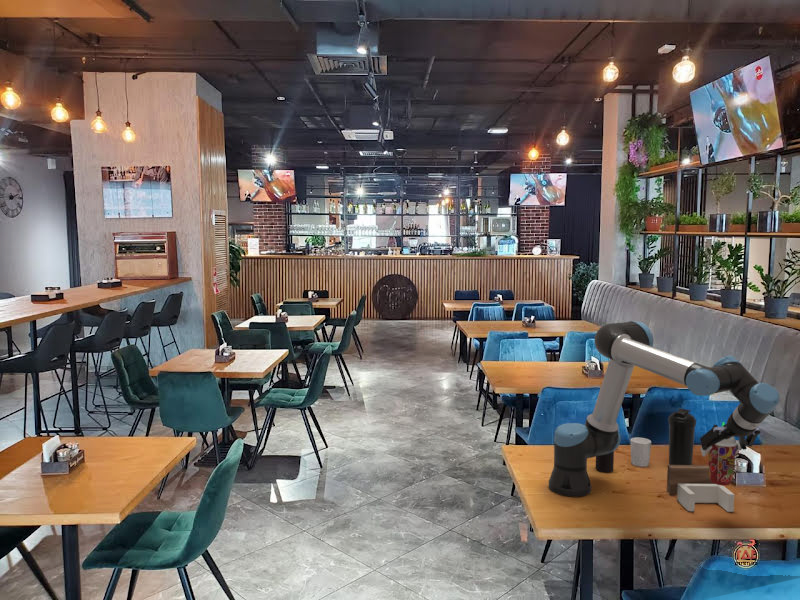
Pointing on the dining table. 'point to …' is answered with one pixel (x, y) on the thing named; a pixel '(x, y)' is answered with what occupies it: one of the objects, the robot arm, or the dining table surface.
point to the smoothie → (722, 461)
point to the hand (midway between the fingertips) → (716, 452)
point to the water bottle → (681, 437)
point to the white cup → (640, 451)
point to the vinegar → (605, 463)
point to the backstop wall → (686, 476)
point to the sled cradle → (705, 495)
